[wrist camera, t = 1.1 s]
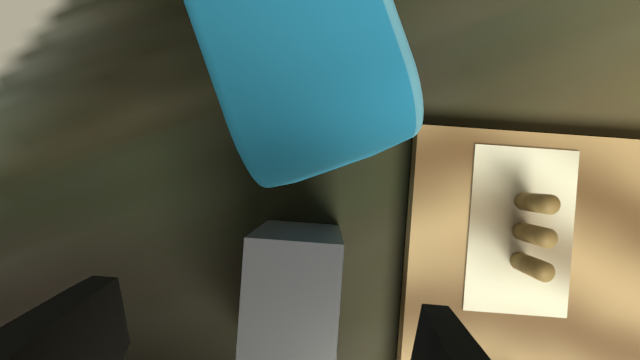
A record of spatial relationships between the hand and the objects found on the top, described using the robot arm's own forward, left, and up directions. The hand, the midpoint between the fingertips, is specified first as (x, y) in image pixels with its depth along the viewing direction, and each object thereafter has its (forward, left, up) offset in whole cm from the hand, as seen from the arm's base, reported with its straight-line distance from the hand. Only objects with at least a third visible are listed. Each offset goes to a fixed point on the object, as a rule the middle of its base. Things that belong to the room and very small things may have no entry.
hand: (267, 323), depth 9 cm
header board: (-3, -12, -11) cm, 17 cm away
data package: (+9, +1, -12) cm, 15 cm away
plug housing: (-2, 0, -11) cm, 12 cm away
